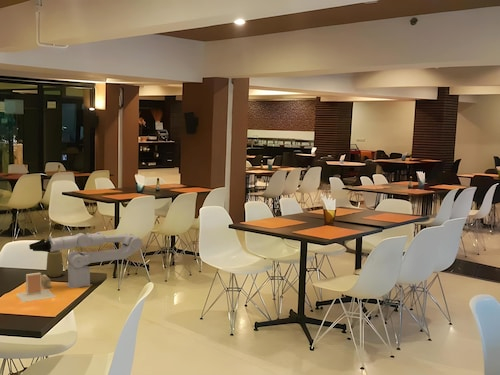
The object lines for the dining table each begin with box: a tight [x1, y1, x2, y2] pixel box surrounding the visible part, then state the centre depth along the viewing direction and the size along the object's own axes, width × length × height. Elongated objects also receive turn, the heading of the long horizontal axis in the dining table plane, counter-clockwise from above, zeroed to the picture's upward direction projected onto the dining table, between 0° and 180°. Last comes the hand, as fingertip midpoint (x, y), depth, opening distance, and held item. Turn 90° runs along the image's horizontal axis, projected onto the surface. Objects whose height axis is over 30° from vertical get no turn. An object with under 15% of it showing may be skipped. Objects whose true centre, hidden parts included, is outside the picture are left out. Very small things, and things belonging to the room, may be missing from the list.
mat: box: [15, 288, 57, 303], centre depth 246 cm, size 14×14×1 cm
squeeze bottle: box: [46, 250, 64, 278], centre depth 277 cm, size 8×8×18 cm
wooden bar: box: [41, 274, 52, 290], centre depth 260 cm, size 3×10×4 cm, turn 34°
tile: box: [25, 272, 42, 295], centre depth 247 cm, size 6×2×9 cm, turn 124°
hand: (31, 247), depth 250 cm, fingers open, 7 cm apart
